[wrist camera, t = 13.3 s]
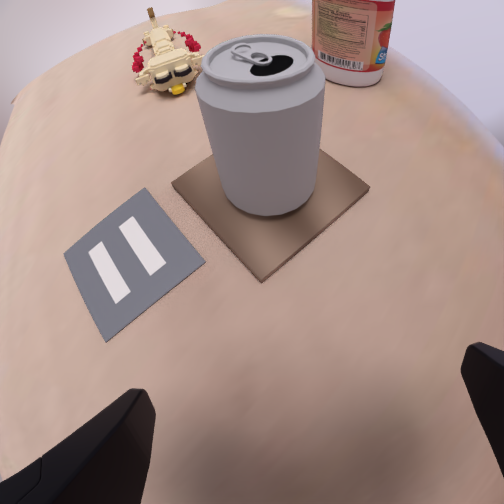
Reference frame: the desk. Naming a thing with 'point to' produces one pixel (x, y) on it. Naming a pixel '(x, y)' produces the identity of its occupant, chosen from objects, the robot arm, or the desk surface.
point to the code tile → (130, 262)
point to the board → (275, 226)
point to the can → (263, 120)
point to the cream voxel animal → (167, 59)
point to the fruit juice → (351, 39)
